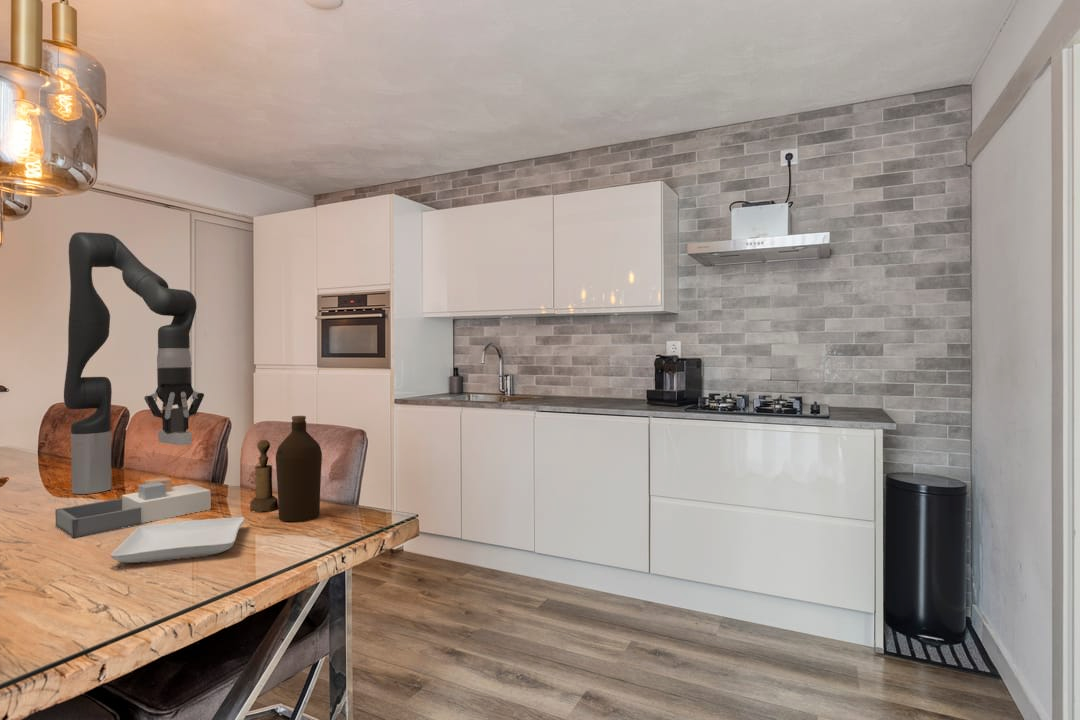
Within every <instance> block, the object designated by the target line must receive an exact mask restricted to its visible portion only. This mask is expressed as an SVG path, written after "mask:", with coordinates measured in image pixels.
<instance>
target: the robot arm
mask: <svg viewBox="0 0 1080 720" xmlns="http://www.w3.org/2000/svg"><path fill="white" fill-rule="evenodd" d="M68 242H69V244H68V265H69V277H70V278H69V279H70V280H69V281H70V283H69V284H70V289H69V290H70V294H69V296H70V297H69V310H68V327H67V328H68V329H67V332H68V333H67V334H68V335H67V337H68V338H67V341H68V344H67V345H68V346H67V363H66V371H65V378H64V379H65V380H64V387H63V402H64V405H65V407H66V409H69V410H89V409H91V410H92V409H95V411H94V413H92V414H91V415H90V416H88V417H86V418H83V419H80V420H78V421H74V422H73V423H72V424H71V426H70V445H71V446H70V449H71V459H70V460H71V494H73V495H89V494H98V493H102V492H103V493H104V492H107V491H109V490H112V435H111V431H112V430H111V427H112V426H111V425H112V424H111V420H112V419H111V417H112V415H111V412H112V394H113V392H112V383H111V381H110V379H109V378H108V377H106V376H82V374H83V372H84V369H85V367H86V366H87V364H88V362H89V361H90V360H91V358H92V357H93V356H94V355H95V354H96V353H97V352H98V351H99V350H100V349H101V348H102V347H103V345H104V344H105V343H106V341H107V339H108V338H109V336H110V328H111V327H110V325H111V314H110V310H109V308H108V306H107V305H106V303H105V302H104V300H103V299H102V297H101V296H100V295H99V293H98V292H97V289H96V288H95V285H94V283H93V282H94V281H93V268H109V267H112V268H114V269H115V268H116V269H117V270H120V271H121V277H122V280H123V282H124V284H125V285H126V287H127V288H128V289H130V290H131V291H132V292H133V293H135V294H136V295H137V296H139V297H140V298H142V299H143V301H144V303H145V305H146V306H147V307H148V309H149V310H150V311H152V312H153V313H155V314H157V315H159V316H168V317H173V318H172V321H171V323H170V324H166V325H163V326H160V327H159V328H158V329H157V357H156V373H157V374H156V376H157V378H156V381H157V387H156V389H155V392H154V393H152V394H149V395H145V396H144V398H143V399H144V401H145V403H146V404H147V406H148V408H149V410H150V412H151V414H152V415H153V417H155V418H158V419H161V421H162V430H163V431H164V432H165V433H166V434H171V423H170V414H171V410H172V408H173V406H177V408H182V409H183V418H184V431H183V432H187V430H188V429H189V418H190V416H191V417H192V416H194V415H196V414H197V412H198V410H199V408H200V406H201V403H202V401H203V399H204V397H205V394H204V393H203V392H198V391H195V390H194V388H193V387H192V364H193V362H192V354H191V349H190V347H191V346H190V345H191V344H190V343H191V342H190V341H191V339H190V333H191V330H192V327H193V322H194V318H195V315H196V312H197V300H196V298H195V296H194V294H193V293H192V292H191V291H189V290H186V289H185V290H184V289H176V288H169V284H168V282H167V281H166V280H165V279H164V278H163V277H161V276H160V275H158V273H155V272H154V271H153V270H151V269H150V268H148V267H147V266H146V265H144V264H143V263H142V262H141V261H140V260H139V258H137V256H136V255H135V254H133V252H132V251H131V250H130V249H129V248H128V247H127V245H125V244H124V243H123V242H122V241H121V240H120V238H118V237H116V236H115V235H113V234H110V233H104V232H83V231H80V232H79V231H78V232H75V233H73V234H72V235H71V237H70V239H69V241H68ZM190 398H191V399H192V402H191V404H190V406H189V404H188V401H189V399H190ZM158 399H159V400H160V402H162V406H161V410H162V411H161V410H160V408H159V406H158V405H157V401H158Z"/></svg>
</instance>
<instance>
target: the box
mask: <svg viewBox="0 0 1080 720" xmlns="http://www.w3.org/2000/svg"><path fill="white" fill-rule="evenodd" d="M140 524H141V508H140V507H138V508H132V509H126V510H122V497H121V498H116V499H109V500H103V501H97V502H91V503H85V504H78V505H75V506H74V505H73V506H68V507H62V508H55V527H56V526H57V527H58V528H57V527H56V528H57V529H59V528H60V529H61V530H60V529H59V530H60V531H62V530H63V531H64V533H65V532H66V533H67V534H66V533H65V534H66V535H68V536H69V535H70V536H71V537H70V536H69V537H70V538H71V539H77V538H76V537H78V538H82V537H87V536H92V535H96V533H97V534H102V533H105V532H104V531H107V532H110V531H109V530H112V531H115V530H114V529H117V530H119V529H118V528H122V527H127V528H129V527H128V526H132V527H135V526H134V525H137V526H141V525H142V524H141V525H140ZM122 529H123V528H122ZM63 531H62V532H63ZM101 532H102V533H101ZM91 534H92V535H91ZM81 536H82V537H81Z"/></svg>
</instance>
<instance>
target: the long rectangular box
mask: <svg viewBox="0 0 1080 720" xmlns="http://www.w3.org/2000/svg"><path fill="white" fill-rule="evenodd" d="M211 495H212V493H211V490H210V489H209V488H205V487H201V486H199V485H197V484H194V483H188V484H187V483H186V484H182V485H175V486H171V491H170V492H166V497H161V498H155V499H150V500H143V499H141V498H139V497H138V492H132V493H126V494H122V495H121V499H122V510H126V509H132V508H138V507H140V508H141V523H142V524H146V523H145V522H147V523H151V522H150V521H152V522H156V520H157V521H162V520H167V519H172V518H176V516H177V517H181V515H182V516H186V515H185V514H187V515H191V514H190V513H192V514H196V513H195V512H197V513H201V512H200V511H202V512H205V510H207V511H210V509H212V507H211V505H212V504H211V500H212V499H211ZM171 517H172V518H171ZM166 518H167V519H166Z"/></svg>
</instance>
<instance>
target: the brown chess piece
mask: <svg viewBox="0 0 1080 720" xmlns="http://www.w3.org/2000/svg"><path fill="white" fill-rule="evenodd" d="M256 444H257V445H256V447H257V449H258V451H259V452H260V456H258V462H259V465H257V466H255V468H254V470H255V471H254V473H255V477H254V479H255V480H254V481H255V497H253V499H251V500H250V502H249V504H250V505H249V508H250V512H252V511H255V512H254V513H263V512H262V511H268V512H270V511H269V510H272V511H274V510H273V509H275V508H277V507H278V497H276V496H274V495H273V465H271V464H268V462H269V461H268V460H269V456H268V455H267V453H268V451H269V449H270V447H271V444H270V441H269V440H268V439H260V440H259V441H257V443H256ZM277 509H278V508H277ZM275 510H276V509H275Z"/></svg>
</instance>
